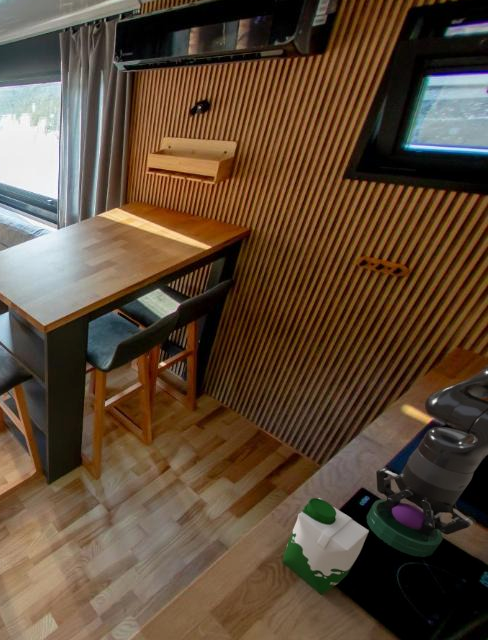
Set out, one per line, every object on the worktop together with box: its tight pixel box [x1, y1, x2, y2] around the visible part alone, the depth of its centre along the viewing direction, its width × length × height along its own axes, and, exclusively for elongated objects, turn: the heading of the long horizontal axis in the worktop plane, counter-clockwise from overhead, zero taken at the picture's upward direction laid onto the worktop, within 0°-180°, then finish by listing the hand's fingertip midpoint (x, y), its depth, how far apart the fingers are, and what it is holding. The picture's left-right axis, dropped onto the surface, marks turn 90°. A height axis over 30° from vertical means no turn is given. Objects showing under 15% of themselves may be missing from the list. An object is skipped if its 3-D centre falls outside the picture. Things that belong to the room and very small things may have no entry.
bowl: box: [366, 498, 444, 558], centre depth 82 cm, size 10×10×6 cm
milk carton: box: [282, 497, 370, 595], centre depth 76 cm, size 9×9×20 cm
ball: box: [392, 502, 426, 529], centre depth 81 cm, size 5×5×5 cm
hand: (405, 521), depth 81 cm, fingers closed on ball, 4 cm apart
